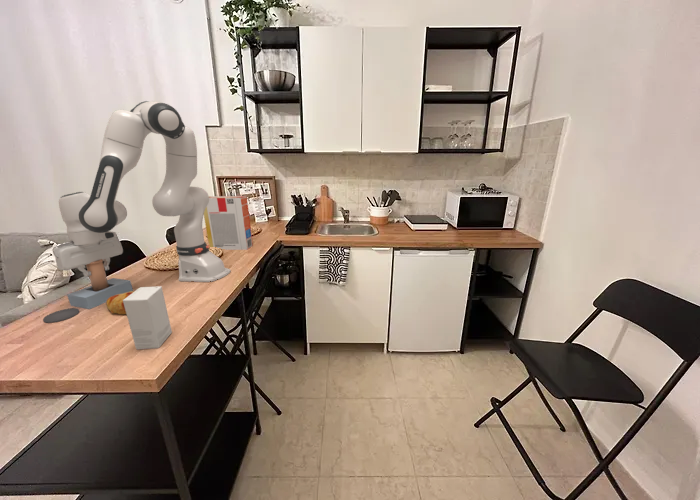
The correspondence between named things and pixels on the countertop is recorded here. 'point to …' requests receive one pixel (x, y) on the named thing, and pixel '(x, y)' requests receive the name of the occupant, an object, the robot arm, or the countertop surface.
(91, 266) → the orange-brown cylinder
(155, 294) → the skincare box
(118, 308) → the croissant
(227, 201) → the pasta box
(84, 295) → the pocket block
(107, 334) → the countertop surface
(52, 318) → the mat
